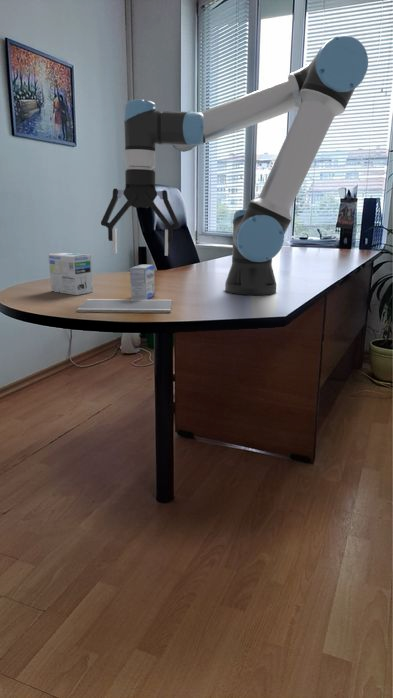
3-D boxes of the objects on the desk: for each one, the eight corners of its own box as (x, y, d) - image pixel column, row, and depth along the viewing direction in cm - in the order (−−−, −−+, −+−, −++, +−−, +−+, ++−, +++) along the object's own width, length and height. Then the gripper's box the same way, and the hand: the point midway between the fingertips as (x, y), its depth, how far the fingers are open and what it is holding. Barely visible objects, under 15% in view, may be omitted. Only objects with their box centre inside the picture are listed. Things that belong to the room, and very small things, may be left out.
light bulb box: (94, 292, 137) (92, 254, 134) (76, 295, 132) (74, 256, 128) (67, 288, 142) (65, 251, 139) (50, 291, 137) (47, 253, 134)
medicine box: (146, 301, 126) (146, 268, 123) (130, 300, 127) (129, 267, 124) (155, 295, 133) (154, 264, 131) (139, 295, 134) (139, 263, 131)
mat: (171, 302, 124) (171, 299, 124) (170, 312, 113) (170, 309, 113) (87, 301, 124) (87, 299, 124) (77, 312, 112) (77, 309, 112)
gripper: (189, 171, 124) (187, 254, 130) (93, 168, 123) (96, 251, 130) (189, 170, 117) (187, 257, 123) (87, 166, 116) (90, 254, 122)
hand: (140, 254), depth 126 cm, fingers open, 13 cm apart
